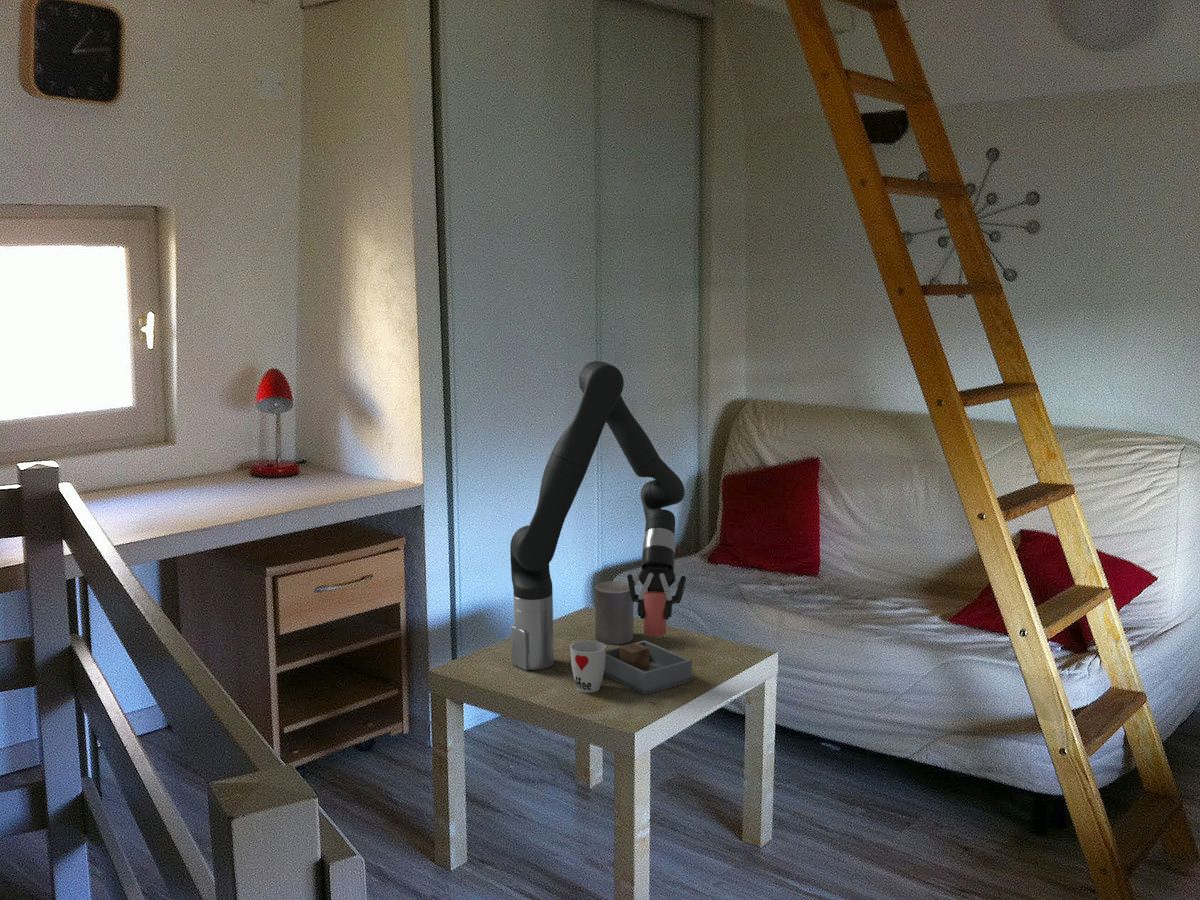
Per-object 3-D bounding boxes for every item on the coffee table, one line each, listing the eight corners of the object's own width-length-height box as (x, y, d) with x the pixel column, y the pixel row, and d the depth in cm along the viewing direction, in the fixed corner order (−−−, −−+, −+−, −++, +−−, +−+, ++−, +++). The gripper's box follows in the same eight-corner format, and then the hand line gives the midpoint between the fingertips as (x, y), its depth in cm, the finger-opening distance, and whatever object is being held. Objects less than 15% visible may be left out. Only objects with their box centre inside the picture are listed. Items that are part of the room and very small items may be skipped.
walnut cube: (632, 673, 285) (632, 652, 284) (619, 667, 289) (619, 647, 288) (649, 668, 288) (649, 648, 287) (636, 662, 292) (636, 642, 291)
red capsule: (653, 637, 277) (653, 599, 275) (639, 631, 281) (639, 593, 279) (670, 633, 279) (670, 595, 278) (656, 627, 283) (656, 589, 282)
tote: (644, 695, 274) (644, 673, 274) (598, 672, 288) (598, 652, 288) (691, 681, 282) (691, 660, 281) (644, 660, 296) (644, 640, 295)
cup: (563, 687, 279) (562, 645, 278) (592, 679, 284) (591, 637, 282) (584, 698, 273) (584, 655, 271) (613, 689, 278) (613, 647, 276)
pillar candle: (588, 635, 314) (588, 579, 311) (622, 629, 319) (621, 573, 316) (607, 647, 306) (606, 589, 303) (641, 640, 310) (640, 583, 307)
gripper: (626, 543, 285) (621, 609, 275) (688, 544, 283) (685, 611, 273) (629, 559, 291) (624, 624, 281) (690, 560, 289) (686, 626, 280)
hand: (654, 617), depth 278 cm, fingers closed on red capsule, 5 cm apart
